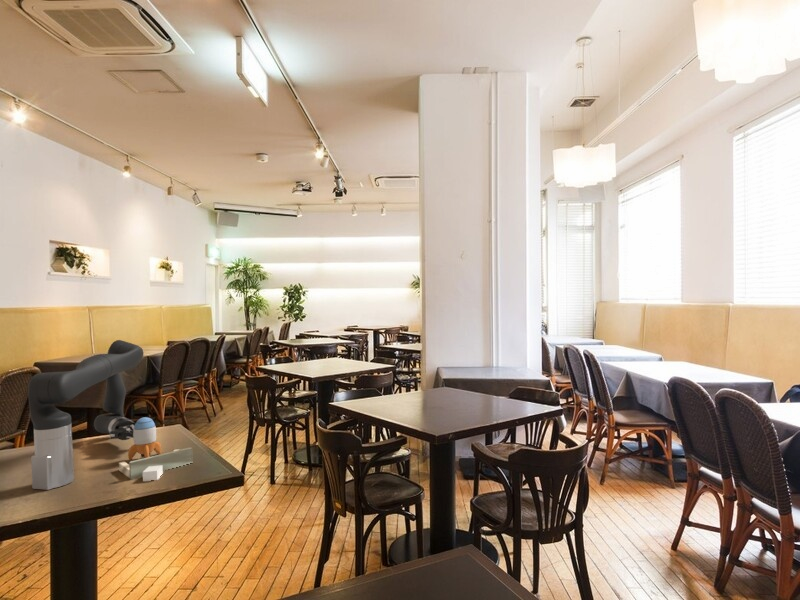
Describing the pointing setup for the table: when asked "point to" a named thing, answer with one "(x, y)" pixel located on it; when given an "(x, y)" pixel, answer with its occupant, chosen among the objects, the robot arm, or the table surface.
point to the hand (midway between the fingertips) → (136, 435)
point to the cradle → (157, 462)
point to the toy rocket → (144, 439)
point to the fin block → (152, 473)
